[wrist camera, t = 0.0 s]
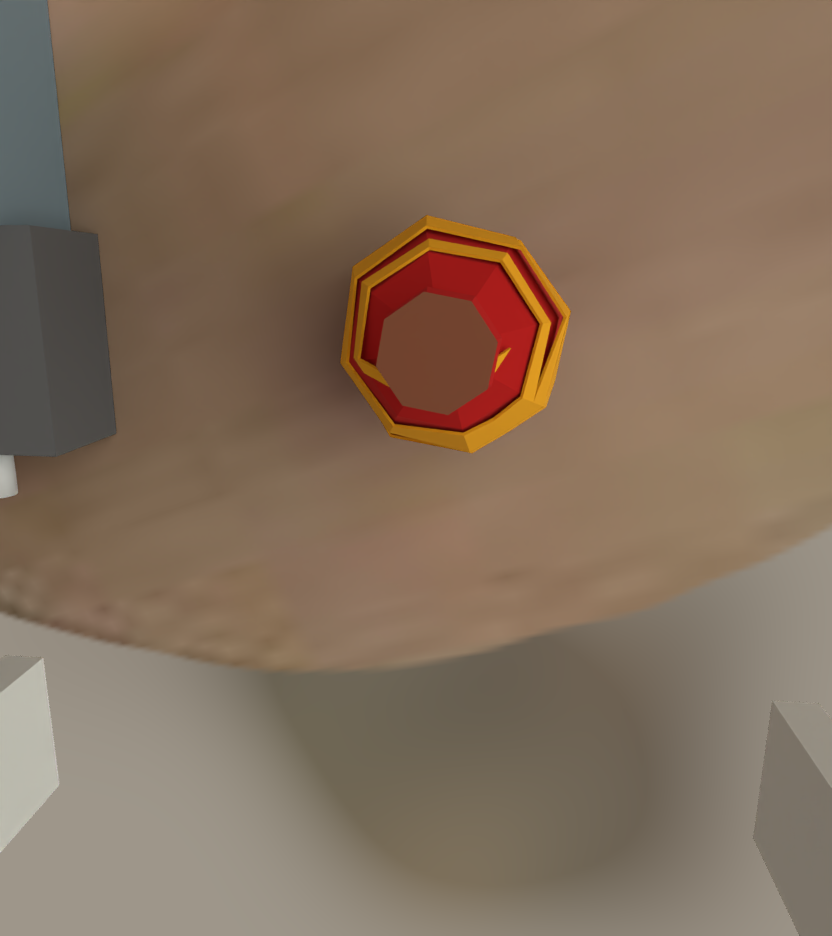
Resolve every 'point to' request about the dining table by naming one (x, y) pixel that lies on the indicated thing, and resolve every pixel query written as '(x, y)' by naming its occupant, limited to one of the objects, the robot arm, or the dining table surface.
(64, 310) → the block with square socket
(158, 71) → the dining table surface
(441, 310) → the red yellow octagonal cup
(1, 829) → the robot arm
